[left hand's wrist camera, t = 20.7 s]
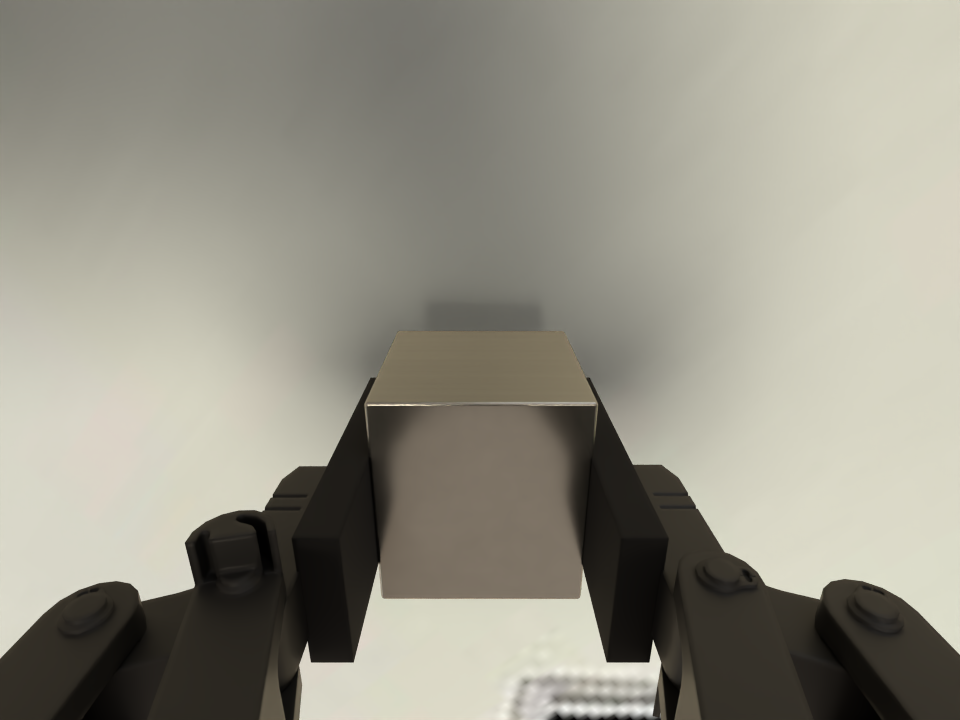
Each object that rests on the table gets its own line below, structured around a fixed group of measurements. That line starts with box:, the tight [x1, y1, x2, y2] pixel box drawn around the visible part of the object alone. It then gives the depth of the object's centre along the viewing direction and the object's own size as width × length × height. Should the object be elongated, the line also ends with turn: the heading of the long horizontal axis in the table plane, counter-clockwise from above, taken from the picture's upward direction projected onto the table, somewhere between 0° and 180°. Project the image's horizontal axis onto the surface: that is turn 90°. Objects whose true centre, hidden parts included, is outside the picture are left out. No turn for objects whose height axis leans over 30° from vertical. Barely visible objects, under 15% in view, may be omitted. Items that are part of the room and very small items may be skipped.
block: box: [365, 331, 598, 599], centre depth 13 cm, size 4×5×4 cm
